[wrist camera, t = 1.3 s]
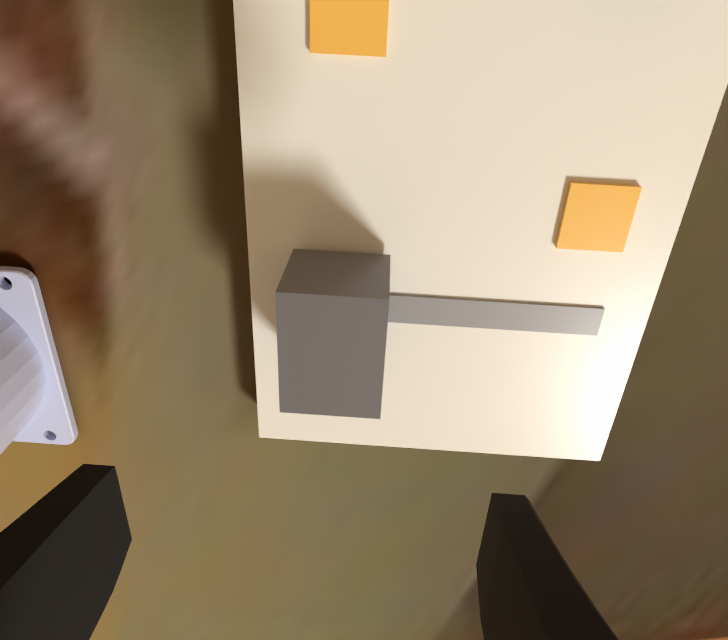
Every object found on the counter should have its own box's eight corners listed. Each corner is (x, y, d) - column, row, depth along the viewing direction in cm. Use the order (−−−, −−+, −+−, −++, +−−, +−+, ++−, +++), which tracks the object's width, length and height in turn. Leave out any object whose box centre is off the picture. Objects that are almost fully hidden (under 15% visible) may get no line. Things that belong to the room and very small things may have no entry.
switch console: (267, 412, 23) (258, 440, 21) (219, -546, 11) (192, -631, 10) (588, 434, 23) (601, 464, 21) (890, -525, 11) (968, -609, 9)
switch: (295, 357, 19) (279, 412, 17) (293, 248, 17) (275, 292, 15) (382, 362, 19) (380, 419, 17) (390, 254, 17) (389, 299, 15)
